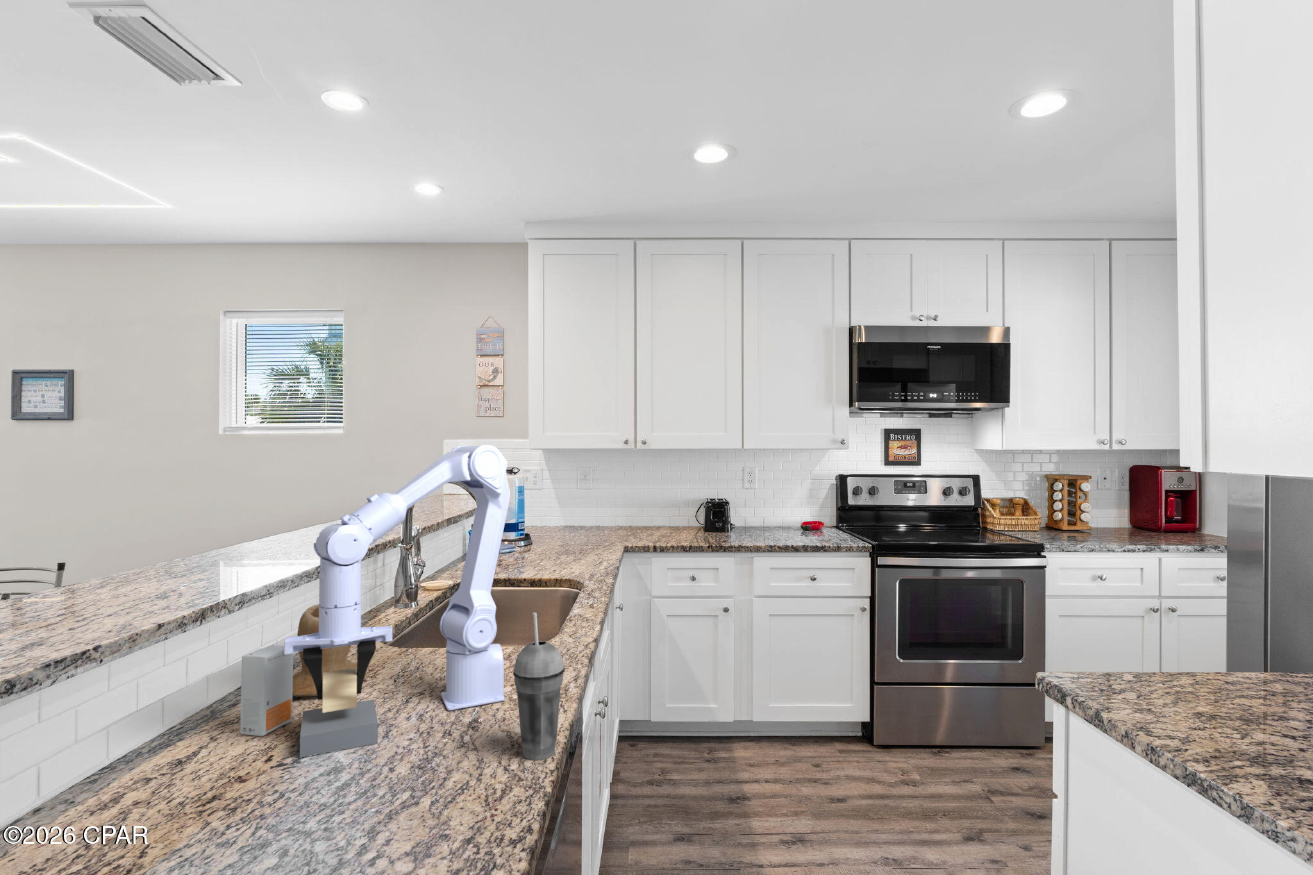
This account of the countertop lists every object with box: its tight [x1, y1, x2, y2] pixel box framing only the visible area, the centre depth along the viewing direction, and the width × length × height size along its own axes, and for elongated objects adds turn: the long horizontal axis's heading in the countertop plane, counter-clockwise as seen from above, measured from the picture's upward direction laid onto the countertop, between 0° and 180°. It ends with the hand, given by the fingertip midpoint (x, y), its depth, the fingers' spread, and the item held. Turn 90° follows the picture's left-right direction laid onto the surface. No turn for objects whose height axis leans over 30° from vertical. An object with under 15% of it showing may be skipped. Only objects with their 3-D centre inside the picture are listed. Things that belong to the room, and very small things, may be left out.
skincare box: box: [239, 644, 294, 737], centre depth 99 cm, size 6×4×12 cm
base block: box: [299, 699, 379, 759], centre depth 96 cm, size 10×10×3 cm
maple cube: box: [322, 668, 358, 713], centre depth 96 cm, size 4×4×4 cm
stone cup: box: [292, 603, 357, 698], centre depth 117 cm, size 15×12×15 cm
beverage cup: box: [512, 612, 565, 761], centre depth 90 cm, size 7×7×20 cm
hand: (339, 694), depth 96 cm, fingers closed on maple cube, 4 cm apart
